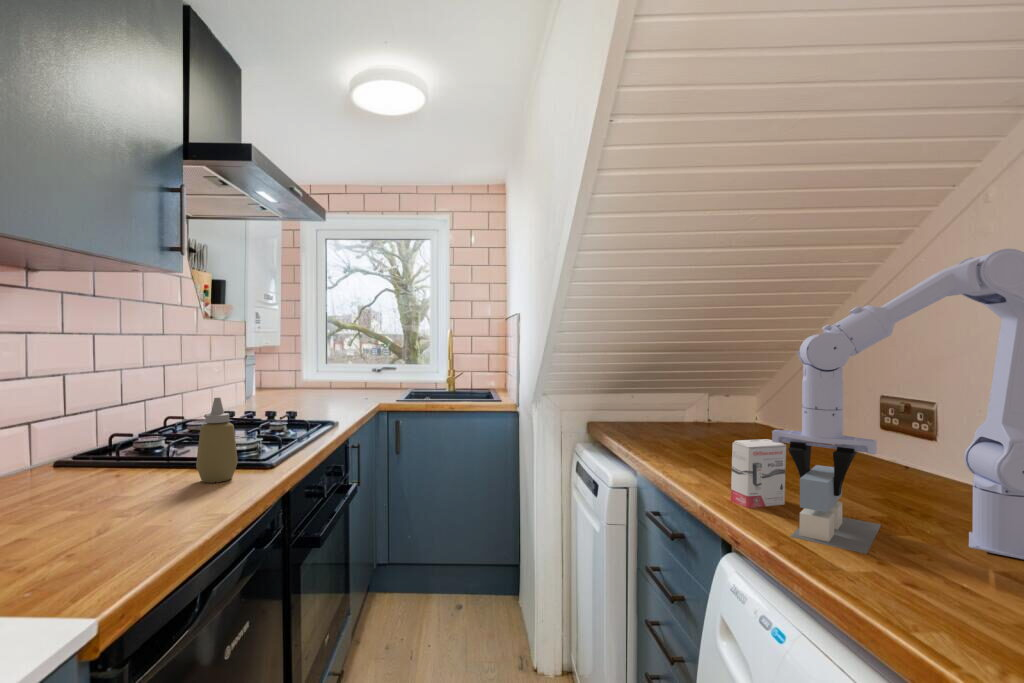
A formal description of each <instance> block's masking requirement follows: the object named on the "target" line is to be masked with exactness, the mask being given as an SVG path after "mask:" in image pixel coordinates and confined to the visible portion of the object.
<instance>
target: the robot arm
mask: <svg viewBox="0 0 1024 683" xmlns="http://www.w3.org/2000/svg"><path fill="white" fill-rule="evenodd" d="M955 296H963V297H965V298H967V299H970V300H972V301H975V302H977V303H980V304H982V305H984V306H986V307H987V308H988V309H989V310H990V311H992V312H993V313H994V314H995V315H996V316H997V317H999V318H1000V320H1001V321H1000V328H999V335H998V340H997V348H996V354H995V360H994V361H995V362H994V366H993V374H992V380H991V386H990V393H989V399H988V406H987V411H986V412H987V414H986V419H985V421H984V422H983V423H982V424H981V425H979V426H978V428H976V429H975V433H974V437H973V440H972V441H971V443H970V444H969V445H968V446H967V447H966V449H965V451H964V456H963V461H964V464H965V466H966V467H967V469H968V470H969V471H970V472H971V473H972V474H973V480H972V531H968V547H969V548H970V549H974V550H979V551H980V550H981V551H984V552H987V553H990V554H993V555H1000V556H1004V557H1011V558H1015V559H1020V560H1024V251H1022V250H1020V249H1016V248H1002V249H997V250H996V251H992V252H991V253H988V254H984V255H981V256H980V255H979V256H977V257H969V258H966V259H963V260H961V261H960V262H958V263H957V264H954V265H953V264H952V265H951V266H949V267H948V266H947V267H945V268H943V269H941V270H940V271H937V272H936V273H933V274H931V275H930V276H928V277H926V278H925V279H923V280H922V281H921V282H920V281H919V282H918V283H917V284H916V285H914V286H912V287H911V288H909V289H907V290H906V291H904V292H903V293H901V294H899V295H898V296H896V297H895V298H893V299H891V300H889V301H888V302H886V303H885V304H883V305H882V306H875V305H870V304H869V305H865V306H863V307H861V306H860V305H859V306H855V307H854V308H852V309H850V310H849V313H850V314H848V315H847V316H846V317H844V318H842V319H840V320H839V321H837V322H835V323H834V324H832V325H830V324H826V325H824V326H823V327H822V328H821V330H822V331H823V332H822V333H819V334H813V335H810V336H807V337H806V338H805V339H804V340H803V341H802V344H801V345H800V347H799V350H797V355H798V359H799V360H800V362H801V363H802V366H803V367H802V381H801V383H802V384H801V389H802V390H801V393H802V394H801V398H802V399H801V406H802V407H801V426H802V427H801V430H787V429H786V430H785V429H784V430H783V429H774V430H772V431H771V434H772V435H771V436H772V437H771V440H772V442H776V443H782V444H784V443H785V444H789V447H788V453H789V455H790V456H791V458H792V460H793V463H794V464H795V466H796V469H797V471H798V473H799V479H800V478H801V477H802V476H804V475H805V474H806V473H807V472H808V471H810V470H811V458H812V456H811V455H812V447H818V448H826V449H833V450H835V451H833V452H832V458H833V459H832V460H833V467H834V496H839V495H840V494H841V489H842V490H843V484H844V480H845V478H846V475H847V473H848V469H849V467H850V466H851V463H852V462H853V460H854V458H855V457H856V455H857V452H859V453H867V454H869V455H876V454H877V452H878V440H877V439H869V438H862V437H857V436H856V437H855V436H850V435H844V380H843V367H844V366H846V364H847V362H848V361H849V358H850V357H854V356H856V355H857V354H860V353H861V352H863V351H865V350H867V349H869V348H870V347H872V346H875V344H877V343H879V342H881V341H883V340H885V339H886V338H888V337H890V336H891V335H892V333H893V331H894V327H895V325H896V323H898V322H900V321H901V320H903V319H905V318H907V317H910V316H911V315H914V314H916V313H917V312H919V311H921V310H924V308H927V307H929V306H931V305H933V304H936V303H937V302H939V301H941V300H942V299H945V298H946V297H955Z"/></svg>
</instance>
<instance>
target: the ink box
mask: <svg viewBox="0 0 1024 683" xmlns="http://www.w3.org/2000/svg"><path fill="white" fill-rule="evenodd" d="M731 445H732V451H731V452H732V455H731V480H730V481H731V482H730V483H731V484H730V485H731V486H730V488H731V489H730V502H732V503H734V504H737V505H739V506H742V507H744V508H747V509H751V508H752V509H753V508H754V509H755V508H763V507H773V506H774V507H775V506H782V505H785V504H786V503H785V499H786V498H785V497H786V496H785V495H786V464H787V463H786V462H787V461H786V460H787V444H786V443H785V444H784V443H782V442H780V443H776V442H772V439H768V438H765V439H763V438H762V439H743V440H742V439H741V440H734V442H732V444H731Z"/></svg>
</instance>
